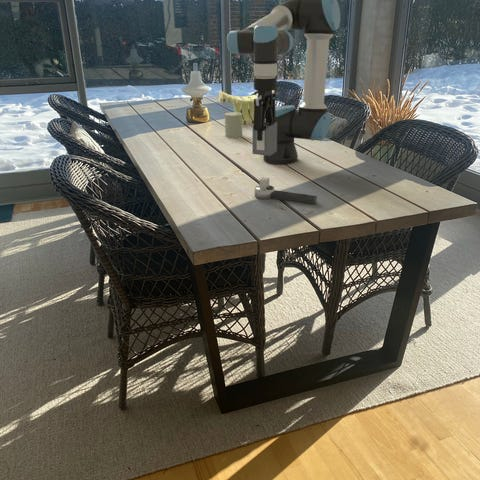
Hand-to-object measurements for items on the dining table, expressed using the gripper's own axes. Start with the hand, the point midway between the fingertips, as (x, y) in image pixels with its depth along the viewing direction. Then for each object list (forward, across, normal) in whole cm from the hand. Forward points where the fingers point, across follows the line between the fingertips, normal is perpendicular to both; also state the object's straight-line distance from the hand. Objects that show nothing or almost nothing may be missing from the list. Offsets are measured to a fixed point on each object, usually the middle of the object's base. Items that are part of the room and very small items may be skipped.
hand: (264, 147), depth 168 cm
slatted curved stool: (+18, -114, -59) cm, 130 cm away
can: (+18, -78, -50) cm, 95 cm away
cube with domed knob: (+2, 0, 0) cm, 2 cm away
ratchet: (+18, 0, +8) cm, 20 cm away
